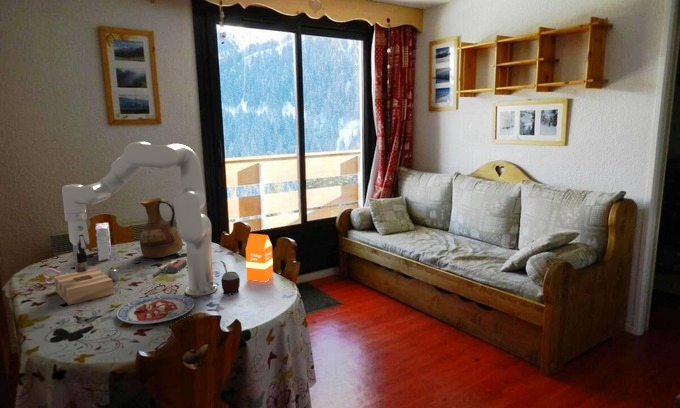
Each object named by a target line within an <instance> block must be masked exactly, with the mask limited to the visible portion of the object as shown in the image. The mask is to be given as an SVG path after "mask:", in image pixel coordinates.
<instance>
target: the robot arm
mask: <svg viewBox="0 0 680 408" xmlns="http://www.w3.org/2000/svg"><path fill="white" fill-rule="evenodd" d="M175 167H178V170H179V171H178V172H179V175H178V177H179V184H180V192H179V193H178V194H177V195H175V198H174V202H173V203H174V205H173V206H174V209H175V217H174V218H175V223H176V229H177V231H178V234H179V236H180V238H181V240H182V242H184V243H186V245H185V247H186V261H187V266H186V267H187V275H188V276H187V279H188V286H186V287H185V289H184V292H185V294H186V295H188V296H192V297H193V296H194V297H197V296H206V295H210V294H213V293H215V292H217V290H218V285H217V284H216V283H214V276H213V275H214V272H213V270H214V269H213V258H212V257H213V256H212V255H213V254H212V253H213V252H212V222H211V220H210V218H209V217H208V216H207V215H206V214H203V213H202V211H201V210H202V209H203V207H204V206H205V205H206V192H205V185H204V180H203V179H204V178H203V174H202V173H203V171H202V166H201V161H200V159H199V156H198V155H197V153H196V152H195V151H194V150H193V149H191V147H189V146H187V145H184V144H180V143H171V144H170V143H169V144H165V145H164V144H152V143H150V142H148V141H143V140H141V141H136V142H135V141H134V142H131V143H129V144H127V145H126V147H124V149H123V154H121V155H120V156H119V157H118V158H116V160H115V161H113V162H112V163H111V169H110V171H109V172H108V173H107V174H106V175H105V176H104V177H102V178H101V179H99V180H98V181H97V182H94V183H91V184H87V185H82V184H81V183H79V184H78V183H77V184H76V183H73V184H72V183H71V184H66V185H63V186H62V188H61V193H62V194H61V195H62V203H63V213H64V221H65V222H67V226H68V227H67V229H68V230H67V231H68V238H69V242H70V243H71V244H72V245H73V244H74V245H75V246H76V247H77V262H78V263H83V262H86V263H87V261H88V260H87V259H88V258H87V251H86V249H87V248H86V245H89V244H90V238H89V236H90V235H89V231H88V225H87V219H88V215H87V214H88V213H87V205H96V204H98V203H100V202H104V201H106V200H108V199H109V198H111V197H112V196H113V195H114V194H116V193H117V192H118V191H119V190H120V189H122V188H123V187H124V186H125V185H126V184H127V183H128V182H129V181H130V179H132V178H133V177H134V176H136V175H137V174H138V173H139V172H140V171H142V169H144V168H159V169H171V168H175ZM79 244H81V245H79ZM79 247H80V248H79ZM72 251H73V254H72V255H74V250H72Z"/></svg>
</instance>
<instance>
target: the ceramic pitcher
mask: <svg viewBox="0 0 680 408" xmlns="http://www.w3.org/2000/svg"><path fill="white" fill-rule="evenodd" d="M139 204H140V205H142V206H143V207H144V208H145V213H146V215H147V223H146V225H144V227H143V228H142V230H141V233H140V236H139V237H140V238H139V246H140V247H139V248H140V250H141V251H140V252H141V254H142V255H143V257H145V258H151V259H155V258H162V257H168V256H171V255H174V254H176V253H179V252H180V251H181V250H182V249H183V240H182V239H181V238H180V236H179V234H178V230H177V227H175V225H174V224H175V218H176V217H175V209H174V205H173V203H172V202H171V201H170V200H169V199H166V198H164V197H163V198H162V197H156V198H155V197H154V198H149V199H144V200H142V201H140V202H139ZM161 204H166V205H167V206H168V207H169V208H170V210H171V219H170V220H169V221H167V220H166V219H164V217H163V216H162V214H161V210H160V205H161Z"/></svg>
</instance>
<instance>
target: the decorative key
mask: <svg viewBox="0 0 680 408" xmlns="http://www.w3.org/2000/svg"><path fill="white" fill-rule="evenodd" d="M47 271H52V272H54V273H55V274H56V275H57V276H61V275H62V274H61V273H62V271H60V270H56V269H55V268H53V267H47V268H46V269H45V270H44V271H43V274H42V276H43V277H44V278H45V279H44V282H45V284H47V285H52V284H55V282H54V280H53V281H48V279H50V276H47V275H46V274H45V273H46V272H47ZM66 274H69V273H67V272H66V273H65V275H66Z"/></svg>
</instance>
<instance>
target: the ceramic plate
mask: <svg viewBox="0 0 680 408" xmlns="http://www.w3.org/2000/svg"><path fill="white" fill-rule="evenodd" d="M194 303H195V302H194V300H193V299H192V298H191V297H188V296H186V295H182V294H173V293H169V294H167V293H165V294H154V295H149V296H145V297H141V298H137V299H134V300H132V301H130V302H127V303H126V304H124V305H122V306H120V308H118V310H117V311H116V317H117V319H119V320H120V321H122V322H124V323H127V324H135V325H137V324H138V325H146V324H149V325H150V324H156V323H163V322H166V321H170V320H174V319H176V318H179V317H181V316H183V315H185V314H187V313H188V312H190V311H191V310H192V309H193V307H194Z"/></svg>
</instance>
